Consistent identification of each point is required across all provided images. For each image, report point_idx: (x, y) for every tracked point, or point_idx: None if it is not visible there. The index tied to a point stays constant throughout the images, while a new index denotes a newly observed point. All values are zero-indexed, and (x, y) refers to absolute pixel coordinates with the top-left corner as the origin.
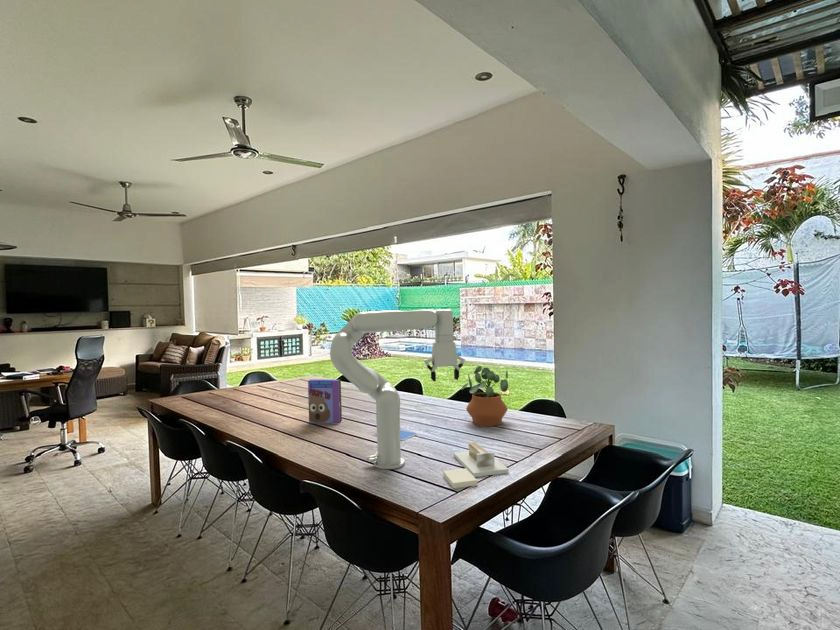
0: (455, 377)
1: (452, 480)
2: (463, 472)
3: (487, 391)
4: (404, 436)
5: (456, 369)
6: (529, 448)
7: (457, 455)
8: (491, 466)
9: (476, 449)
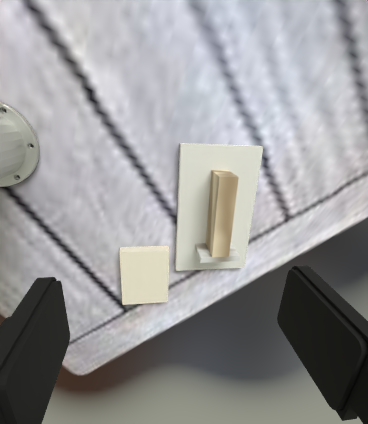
0: (290, 313)
1: (124, 295)
2: (156, 268)
3: None
4: None
5: (362, 415)
6: (365, 151)
7: (182, 167)
8: None
9: (214, 229)
